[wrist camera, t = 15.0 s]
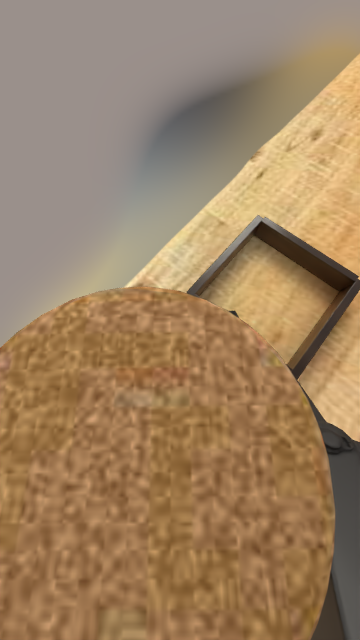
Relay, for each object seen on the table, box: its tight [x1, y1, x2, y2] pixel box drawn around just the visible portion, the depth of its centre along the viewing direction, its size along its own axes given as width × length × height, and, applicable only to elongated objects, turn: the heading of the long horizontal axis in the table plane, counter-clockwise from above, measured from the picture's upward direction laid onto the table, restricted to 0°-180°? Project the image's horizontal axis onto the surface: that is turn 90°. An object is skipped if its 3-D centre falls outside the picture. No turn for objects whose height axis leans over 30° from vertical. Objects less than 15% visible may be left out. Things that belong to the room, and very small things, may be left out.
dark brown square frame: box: [187, 215, 360, 379], centre depth 30 cm, size 17×17×3 cm
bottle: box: [0, 287, 335, 640], centre depth 10 cm, size 6×6×15 cm
